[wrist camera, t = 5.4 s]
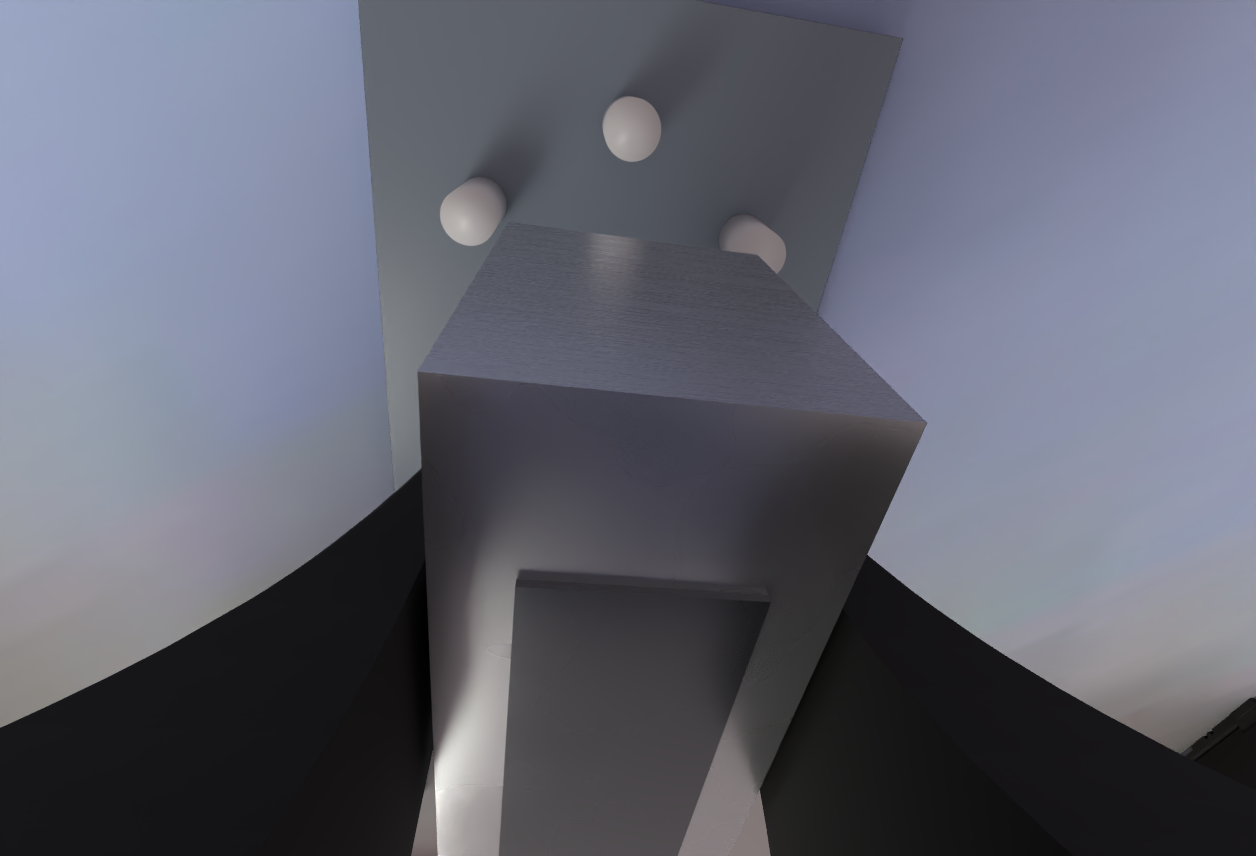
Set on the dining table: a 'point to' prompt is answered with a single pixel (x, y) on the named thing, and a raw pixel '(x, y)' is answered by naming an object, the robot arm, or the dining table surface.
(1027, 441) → the dining table surface
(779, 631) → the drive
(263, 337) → the dining table surface
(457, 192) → the grey knobbed plate
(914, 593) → the robot arm
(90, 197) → the dining table surface
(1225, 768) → the handheld gaming console
